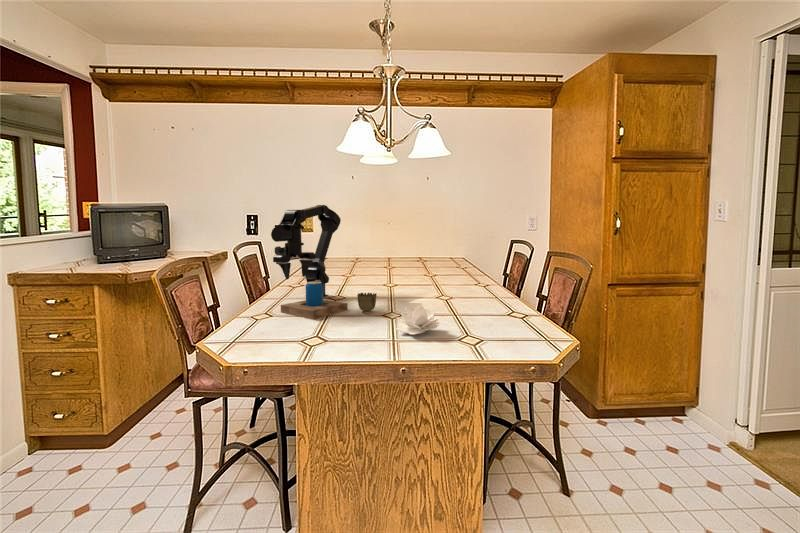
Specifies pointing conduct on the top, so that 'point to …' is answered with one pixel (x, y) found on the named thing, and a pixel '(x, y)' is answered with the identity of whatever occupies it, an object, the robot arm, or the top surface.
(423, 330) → the lotus flower
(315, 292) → the beverage can
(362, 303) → the cup
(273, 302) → the top surface
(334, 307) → the can holder
